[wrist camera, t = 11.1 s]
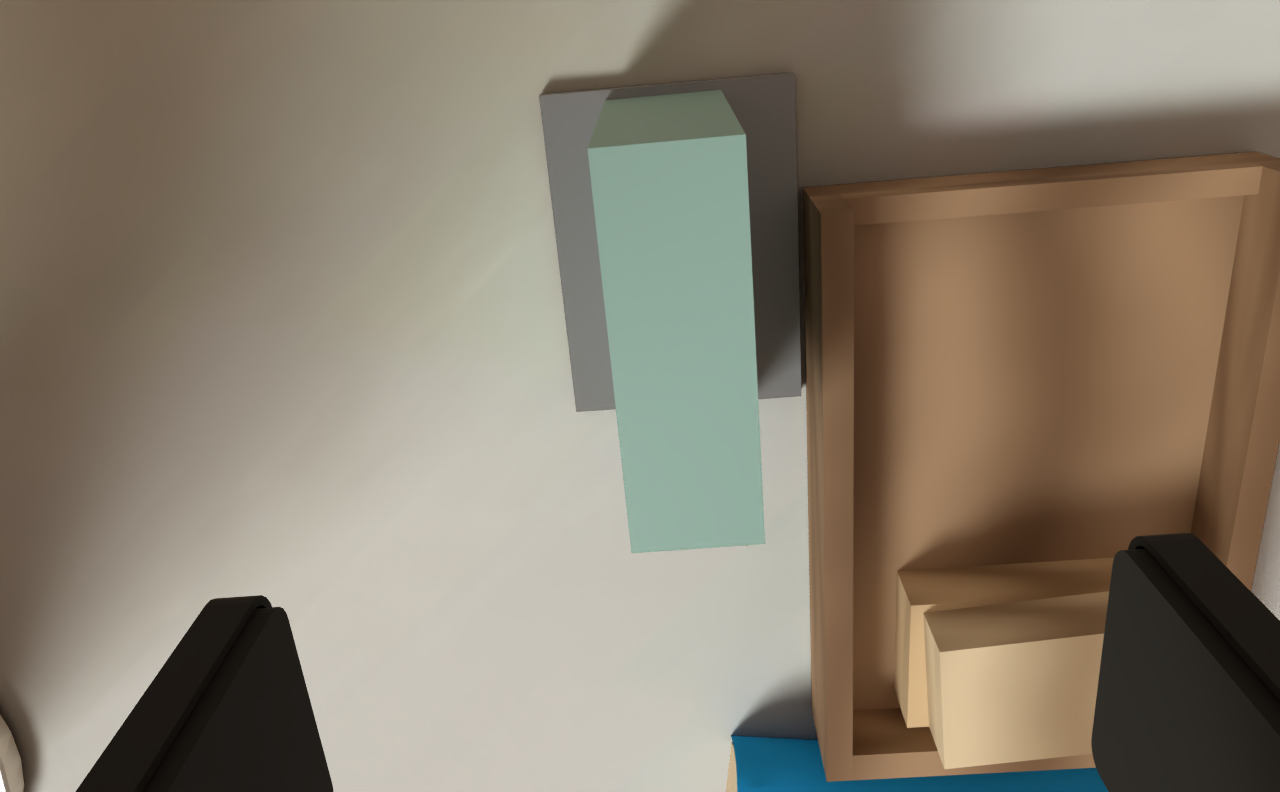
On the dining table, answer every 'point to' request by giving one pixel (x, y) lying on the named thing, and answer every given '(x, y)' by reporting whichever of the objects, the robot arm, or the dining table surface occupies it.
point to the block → (680, 317)
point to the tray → (1025, 396)
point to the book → (797, 787)
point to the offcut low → (973, 590)
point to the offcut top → (1014, 679)
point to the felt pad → (773, 226)
